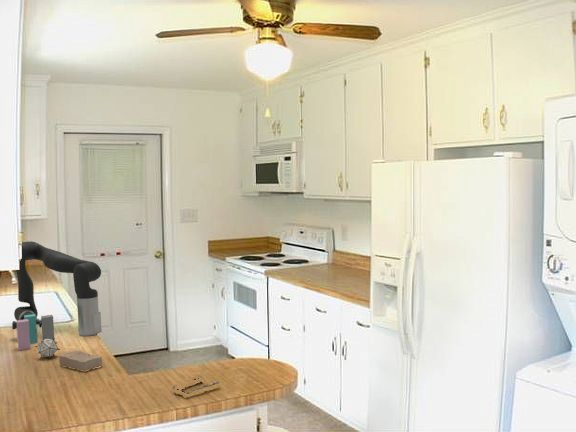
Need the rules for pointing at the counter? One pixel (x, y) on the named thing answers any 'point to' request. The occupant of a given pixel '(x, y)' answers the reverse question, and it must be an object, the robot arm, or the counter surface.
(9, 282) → the counter surface
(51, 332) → the charcoal block
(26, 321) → the plum block
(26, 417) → the counter surface
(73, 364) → the brick
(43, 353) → the game die
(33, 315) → the teal block
